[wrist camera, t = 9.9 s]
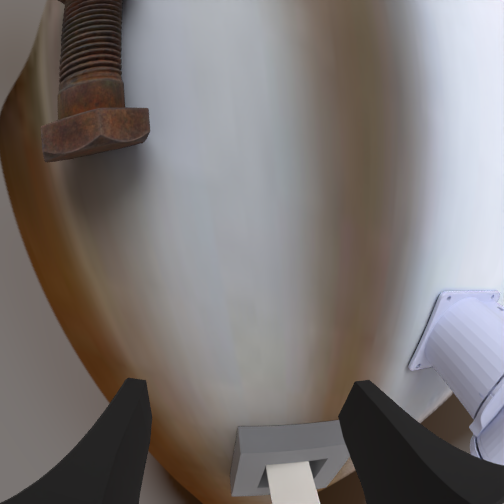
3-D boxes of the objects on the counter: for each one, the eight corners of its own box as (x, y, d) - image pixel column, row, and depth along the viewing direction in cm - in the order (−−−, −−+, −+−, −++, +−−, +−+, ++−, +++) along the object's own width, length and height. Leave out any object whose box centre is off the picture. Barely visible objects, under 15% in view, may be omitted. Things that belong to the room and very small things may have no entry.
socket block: (350, 418, 25) (360, 440, 22) (320, 468, 28) (325, 487, 26) (238, 426, 23) (241, 453, 20) (229, 475, 27) (231, 496, 24)
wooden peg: (301, 437, 25) (320, 503, 18) (306, 453, 26) (322, 513, 19) (262, 447, 25) (274, 514, 18) (270, 462, 26) (282, 522, 19)
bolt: (130, -44, 11) (130, 148, 16) (61, -40, 8) (48, 165, 13) (162, -93, 6) (161, 136, 11) (75, -94, 3) (41, 158, 9)
